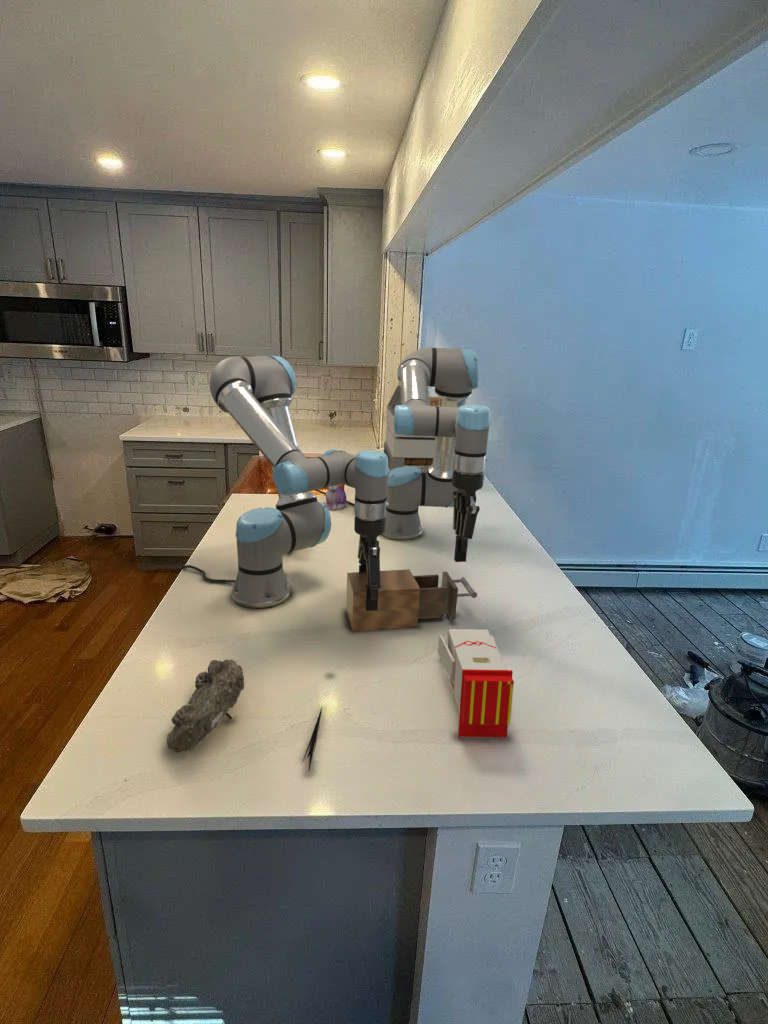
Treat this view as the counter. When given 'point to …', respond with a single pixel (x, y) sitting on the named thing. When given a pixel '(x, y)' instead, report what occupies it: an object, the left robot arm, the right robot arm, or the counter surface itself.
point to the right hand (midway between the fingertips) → (459, 560)
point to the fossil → (206, 705)
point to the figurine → (335, 497)
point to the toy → (478, 682)
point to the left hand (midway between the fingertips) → (367, 598)
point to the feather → (313, 740)
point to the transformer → (406, 440)
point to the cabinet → (383, 601)
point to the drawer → (440, 595)
